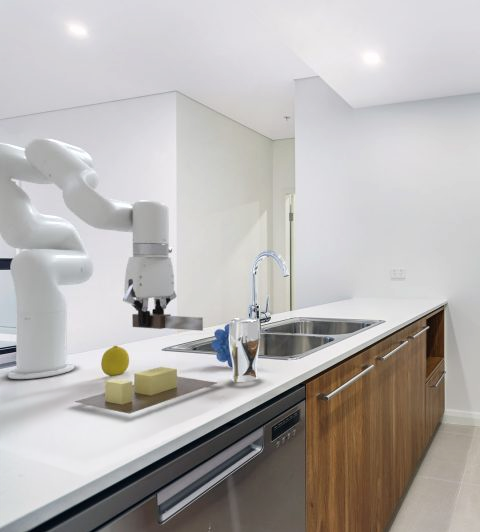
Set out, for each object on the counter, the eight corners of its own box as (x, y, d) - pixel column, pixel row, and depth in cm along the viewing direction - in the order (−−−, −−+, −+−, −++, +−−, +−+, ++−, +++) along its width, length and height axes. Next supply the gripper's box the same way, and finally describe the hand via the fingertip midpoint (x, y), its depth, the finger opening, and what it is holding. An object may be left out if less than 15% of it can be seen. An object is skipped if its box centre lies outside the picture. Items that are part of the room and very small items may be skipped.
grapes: (208, 373, 101) (208, 326, 101) (212, 367, 108) (212, 323, 107) (257, 370, 105) (257, 324, 105) (257, 364, 111) (257, 321, 111)
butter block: (134, 392, 83) (134, 373, 83) (160, 384, 88) (160, 366, 88) (150, 395, 81) (150, 376, 81) (177, 387, 86) (177, 368, 86)
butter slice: (104, 401, 77) (104, 381, 77) (115, 398, 79) (115, 378, 79) (122, 405, 75) (122, 384, 75) (132, 401, 77) (132, 381, 77)
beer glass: (223, 383, 93) (223, 319, 93) (251, 377, 98) (251, 316, 98) (236, 389, 88) (236, 322, 88) (265, 383, 94) (265, 319, 93)
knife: (132, 327, 99) (132, 314, 99) (143, 325, 101) (143, 312, 101) (197, 331, 90) (196, 317, 90) (207, 329, 93) (207, 315, 93)
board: (74, 407, 77) (74, 401, 77) (168, 379, 96) (168, 374, 96) (129, 420, 71) (129, 413, 71) (218, 387, 90) (218, 382, 90)
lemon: (114, 382, 94) (114, 348, 94) (95, 380, 95) (95, 347, 95) (134, 375, 99) (134, 343, 99) (116, 374, 100) (116, 342, 100)
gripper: (170, 252, 107) (170, 320, 107) (106, 250, 92) (106, 330, 92) (190, 252, 104) (190, 322, 104) (127, 250, 89) (127, 332, 89)
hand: (151, 325), depth 98 cm, fingers closed on knife, 2 cm apart
